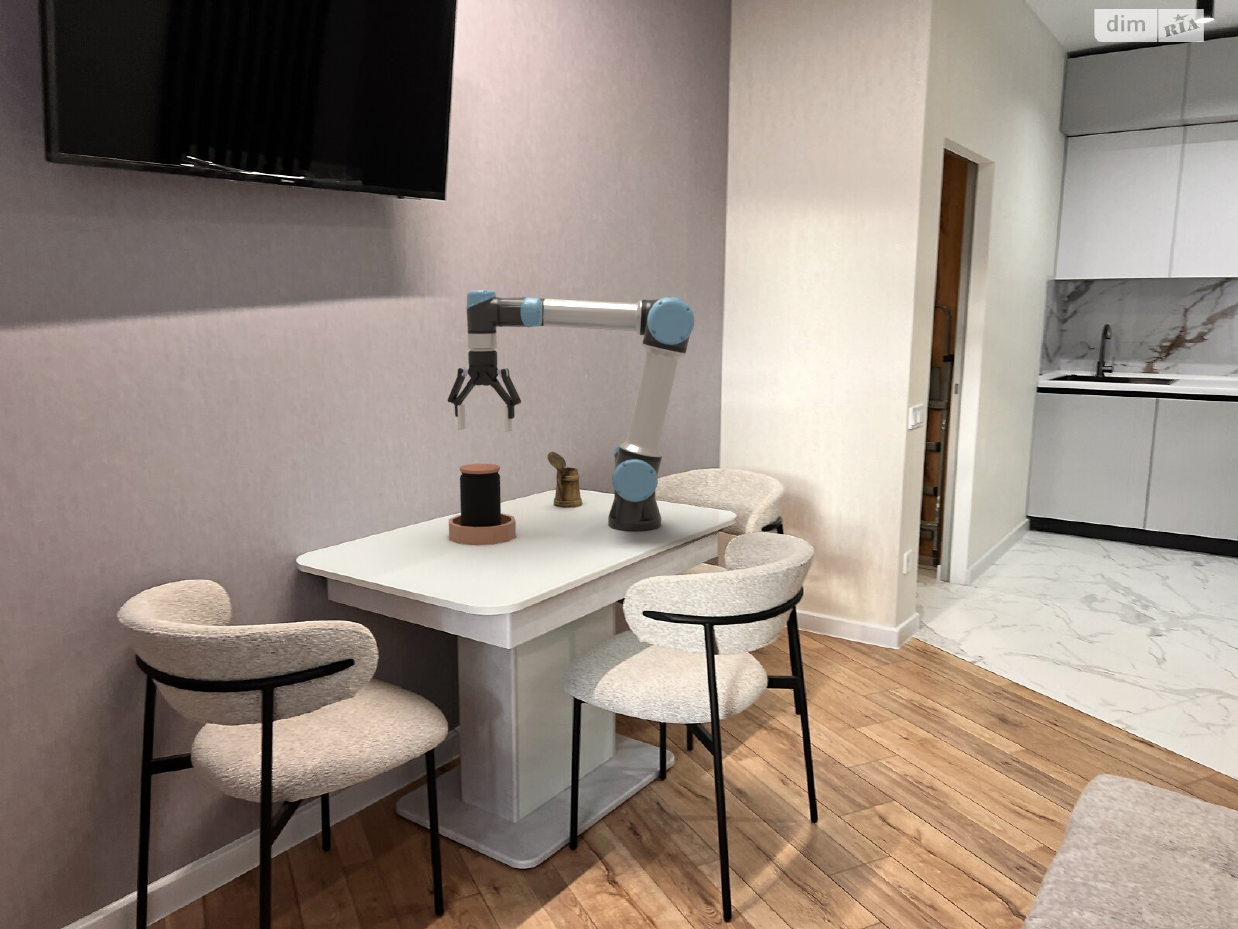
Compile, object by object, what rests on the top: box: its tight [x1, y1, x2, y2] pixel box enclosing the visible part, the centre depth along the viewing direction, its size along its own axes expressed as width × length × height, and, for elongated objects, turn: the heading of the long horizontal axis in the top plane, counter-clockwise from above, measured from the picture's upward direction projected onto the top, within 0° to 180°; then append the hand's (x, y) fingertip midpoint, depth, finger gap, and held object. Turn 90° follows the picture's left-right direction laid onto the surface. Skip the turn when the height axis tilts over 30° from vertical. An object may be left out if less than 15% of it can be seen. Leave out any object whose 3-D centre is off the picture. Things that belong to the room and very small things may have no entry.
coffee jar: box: [459, 463, 502, 527], centre depth 251 cm, size 11×11×18 cm
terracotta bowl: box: [448, 512, 517, 546], centre depth 252 cm, size 18×18×4 cm
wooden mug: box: [546, 451, 583, 508], centre depth 288 cm, size 9×14×18 cm, turn 151°
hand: (485, 430), depth 249 cm, fingers open, 13 cm apart
